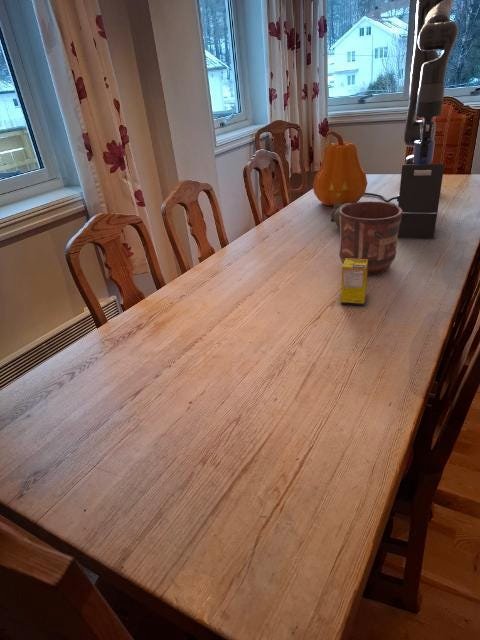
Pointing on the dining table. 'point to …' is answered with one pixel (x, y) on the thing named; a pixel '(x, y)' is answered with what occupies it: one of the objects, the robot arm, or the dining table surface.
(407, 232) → the black cube
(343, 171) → the decorative pumpkin
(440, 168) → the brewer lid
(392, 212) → the pottery
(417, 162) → the creamer cup
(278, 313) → the dining table surface
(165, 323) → the dining table surface
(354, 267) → the supplement box
